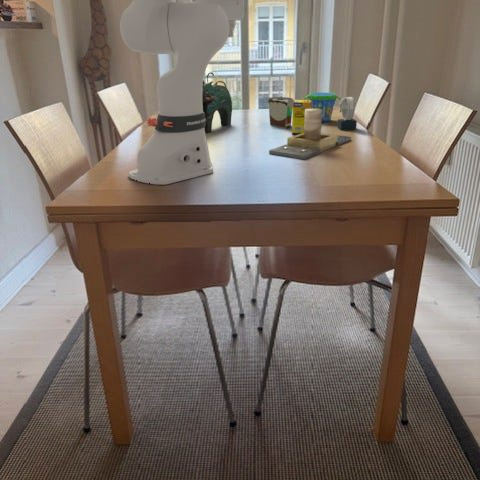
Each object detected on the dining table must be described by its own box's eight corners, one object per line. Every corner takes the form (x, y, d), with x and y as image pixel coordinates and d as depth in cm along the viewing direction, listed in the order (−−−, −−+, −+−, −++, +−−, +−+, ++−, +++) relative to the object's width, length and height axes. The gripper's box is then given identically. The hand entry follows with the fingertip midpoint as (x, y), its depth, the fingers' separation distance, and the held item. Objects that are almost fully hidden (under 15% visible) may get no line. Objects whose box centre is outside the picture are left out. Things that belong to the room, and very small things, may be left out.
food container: (300, 127, 166) (301, 99, 162) (288, 129, 163) (288, 100, 159) (280, 122, 175) (280, 96, 171) (267, 124, 172) (267, 97, 168)
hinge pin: (314, 149, 134) (316, 111, 130) (300, 147, 137) (301, 110, 132) (323, 146, 138) (325, 109, 133) (309, 144, 140) (310, 108, 136)
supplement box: (309, 135, 152) (310, 102, 148) (291, 135, 153) (292, 102, 149) (310, 132, 157) (311, 99, 153) (293, 131, 159) (294, 99, 154)
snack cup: (342, 118, 179) (344, 92, 175) (340, 123, 170) (342, 95, 166) (303, 118, 183) (304, 92, 179) (299, 122, 174) (300, 95, 170)
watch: (350, 126, 165) (353, 95, 160) (357, 130, 157) (360, 98, 153) (335, 127, 164) (337, 95, 160) (341, 131, 157) (344, 98, 152)
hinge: (304, 159, 124) (305, 148, 122) (269, 153, 130) (269, 143, 129) (351, 140, 144) (351, 130, 143) (318, 135, 151) (318, 126, 150)
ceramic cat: (207, 134, 158) (204, 74, 150) (192, 133, 161) (188, 74, 153) (235, 124, 174) (234, 69, 165) (221, 123, 176) (219, 69, 168)
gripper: (200, -19, 119) (204, 38, 125) (247, -15, 133) (248, 36, 139) (184, -17, 123) (187, 38, 128) (231, -13, 137) (232, 37, 143)
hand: (219, 37), depth 134 cm, fingers open, 8 cm apart
